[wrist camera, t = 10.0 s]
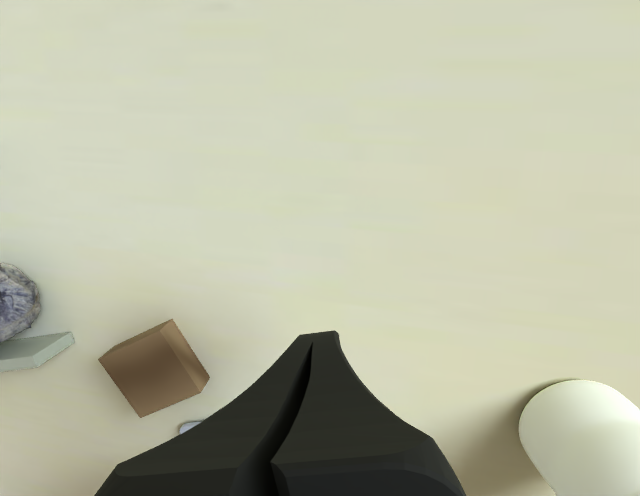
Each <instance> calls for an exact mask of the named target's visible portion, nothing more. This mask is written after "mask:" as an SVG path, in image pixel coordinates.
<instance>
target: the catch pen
mask: <svg viewBox="0 0 640 496" xmlns="http://www.w3.org/2000/svg"><path fill="white" fill-rule="evenodd" d="M73 343H74V339H73V337H72V334H71V332H68V333H60V334H53V335H46V336H39V337H32V338H24V339H17V340H10V341H3V342H0V372H6V371H14V370H21V369H29V368H37V367H39V366H40V365H42V364H43V363H45V362H46V361H48V360H49V359H51V358H52V357H53V356H55V355H56V354H58V353H59V352H61V351H62V350H64V349H65V348H67V347H68V346H70V345H71V344H73Z"/></svg>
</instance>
